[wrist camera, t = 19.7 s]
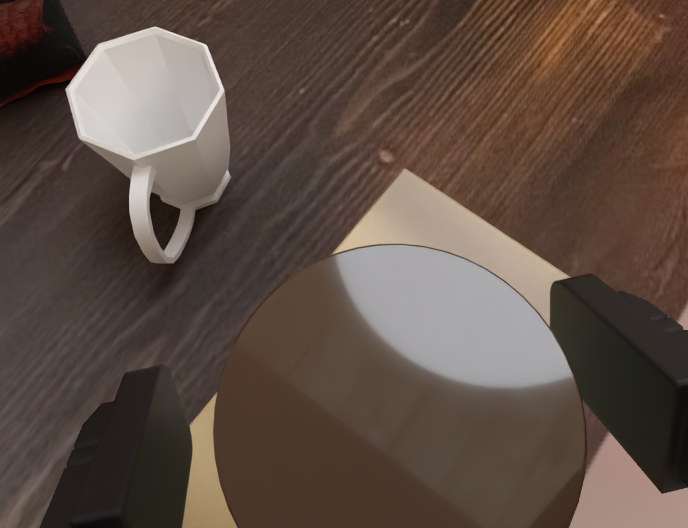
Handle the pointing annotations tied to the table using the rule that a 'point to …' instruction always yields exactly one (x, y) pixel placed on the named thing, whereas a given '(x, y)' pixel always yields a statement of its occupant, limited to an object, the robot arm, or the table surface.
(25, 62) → the red carved wooden box
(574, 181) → the table surface
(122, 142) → the cup
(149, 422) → the robot arm
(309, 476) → the jar
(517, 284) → the shelf
